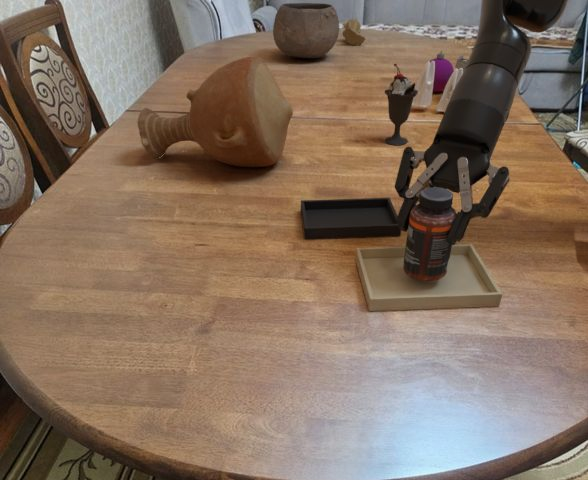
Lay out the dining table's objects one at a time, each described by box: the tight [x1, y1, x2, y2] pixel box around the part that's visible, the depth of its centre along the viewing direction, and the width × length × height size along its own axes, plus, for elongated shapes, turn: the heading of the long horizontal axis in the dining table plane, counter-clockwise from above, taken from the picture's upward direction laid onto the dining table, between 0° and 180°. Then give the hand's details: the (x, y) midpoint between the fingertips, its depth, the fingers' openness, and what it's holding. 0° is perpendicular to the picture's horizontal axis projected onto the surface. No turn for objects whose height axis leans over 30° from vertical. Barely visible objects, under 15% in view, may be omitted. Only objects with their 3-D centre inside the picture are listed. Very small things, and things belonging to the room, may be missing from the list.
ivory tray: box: [354, 243, 503, 312], centre depth 75 cm, size 17×13×2 cm
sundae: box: [384, 63, 418, 146], centre depth 113 cm, size 7×7×15 cm
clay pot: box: [272, 2, 340, 59], centre depth 173 cm, size 21×21×15 cm
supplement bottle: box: [403, 187, 458, 282], centre depth 71 cm, size 6×6×11 cm
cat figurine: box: [342, 18, 366, 46], centre depth 193 cm, size 8×7×12 cm
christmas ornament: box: [429, 49, 455, 93], centre depth 144 cm, size 8×8×10 cm
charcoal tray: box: [300, 197, 402, 240], centre depth 88 cm, size 15×10×2 cm, turn 93°
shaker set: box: [411, 60, 463, 113], centre depth 130 cm, size 12×4×11 cm, turn 77°
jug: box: [137, 56, 294, 168], centre depth 104 cm, size 20×19×30 cm
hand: (426, 235), depth 70 cm, fingers closed on supplement bottle, 6 cm apart
